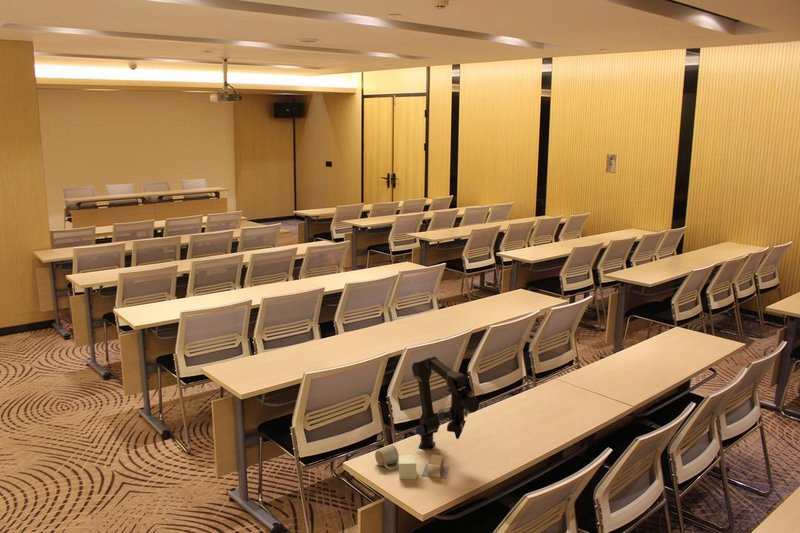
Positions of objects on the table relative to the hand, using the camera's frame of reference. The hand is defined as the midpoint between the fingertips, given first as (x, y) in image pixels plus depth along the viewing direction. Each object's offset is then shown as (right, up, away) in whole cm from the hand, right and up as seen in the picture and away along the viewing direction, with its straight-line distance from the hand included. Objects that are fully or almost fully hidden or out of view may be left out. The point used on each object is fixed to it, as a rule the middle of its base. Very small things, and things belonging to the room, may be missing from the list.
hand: (457, 438), depth 290 cm
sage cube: (-21, -14, -5) cm, 26 cm away
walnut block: (-10, -11, -8) cm, 17 cm away
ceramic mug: (-29, -12, +3) cm, 32 cm away
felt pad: (-9, -13, -3) cm, 16 cm away
